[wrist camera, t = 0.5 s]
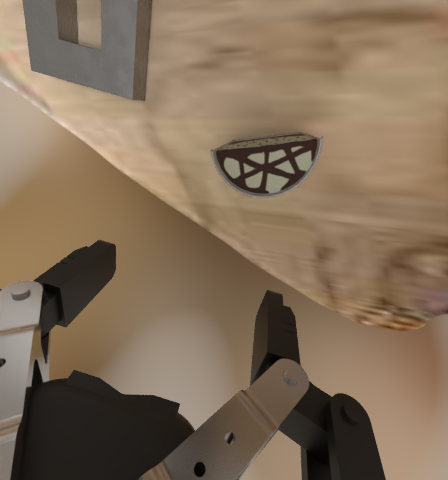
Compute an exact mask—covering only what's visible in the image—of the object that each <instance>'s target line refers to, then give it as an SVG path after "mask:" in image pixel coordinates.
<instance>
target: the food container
mask: <svg viewBox="0 0 448 480" xmlns="http://www.w3.org/2000/svg"><path fill="white" fill-rule="evenodd" d="M322 142H323V137H321V138H317V137H314V136H311V135H308V134H305V133H301V132H299V133H291V134H283V135H274V136H266V137H258V138H250V139H242V140H234V141H231V142H229V143H227V144H225V145H223V146H222V147H220V148H218V149H216V150H214V151H213V150H211V154H212V159H213V162H214V164H215V167H216V169H217V171H218V172H219V174H220V176H221V177H222V178H223V179H224V181H225V182H226V183H227V184H228V185H229V186H231V187H232V188H233V189H235V190H236V191H238V192H240V193H242V194H245V195H248V196H251V197H257V198H269V197H275V196H279V195H282V194H284V193H287V192H289V191H291V190H292V189H294V188H295V187H297V186H298V185H299V184H300V183H302V182H303V181H304V180H305V179H306V177H307V176H308V175H309V174H310V173H311V171H312V169H313V168H314V166H315V164H316V162H317V160H318V158H319V155H320V151H321V148H322Z"/></svg>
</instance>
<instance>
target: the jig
mask: <svg viewBox="0 0 448 480" xmlns="http://www.w3.org/2000/svg"><path fill="white" fill-rule="evenodd" d="M151 5H152V0H101V19H102V51H98V50H95V49H91V48H88V47H84V46H81V45H78V32H77V9H76V0H23V8H24V16H25V24H26V32H27V40H28V48H29V56H30V64H31V70H32V71H35V72H39V73H42V74H45V75H49V76H52V77H56V78H59V79H63V80H66V81H70V82H73V83H77V84H80V85H84V86H87V87H91V88H94V89H97V90H101V91H104V92H108V93H111V94H115V95H118V96H122V97H125V98H129V99H132V100H145V89H146V75H147V61H148V47H149V33H150V19H151Z"/></svg>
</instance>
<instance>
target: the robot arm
mask: <svg viewBox="0 0 448 480" xmlns="http://www.w3.org/2000/svg"><path fill="white" fill-rule="evenodd" d="M115 270H116V246H115V244H112V243H109V242H105V241H102V240H98V241H97V242H95V243H94V244H93V245H91V246H90V247H87V246H86V247H83V248H80V249H77V250H75V251H74V252H72V253H71V254H69V255H68V256H67V257H66V258H64V259H63V260H61V261H60V263H57V264H56V265H54V266H53V267H51V268H50V269H49V270H48V271H46V272H45V273H43V274H42V275H40V276H39V277H38V278H37V279H35V280H34V281H19V282H15V283H13V284H10V285H8V286H6V287H5V288H3V289H0V480H239V479H240V478H241V477H242V475H243V474H244V473H245V472H246V470H247V469H248V468H249V466H250V465H251V464H252V462H253V461H254V460H255V459H256V457H257V456H258V455H259V454H260V452H261V451H262V450H263V448H264V447H265V446H266V445H267V443H268V442H269V441H270V440H271V438H272V437H273V436H274V435H275V433H276V432H277V431H278V430H280V431H281V432H282V433H284V434H285V435H287V436H288V437H289V438H291V439H292V440H293V441H295V442H296V443H297V444H299V445H300V446H301V467H302V480H386V479H385V475H384V471H383V468H382V464H381V460H380V456H379V452H378V448H377V445H376V441H375V437H374V433H373V429H372V425H371V422H370V419H369V416H368V414H367V412H366V411H365V410H364V408H363V407H362V406H361V405H360V403H359V402H357V401H356V400H355V399H354V398H352V397H351V396H349V395H346V394H342V393H339V394H335V395H334V396H333V397H331V396H330V395H328V394H327V393H325V392H323V391H322V390H320V389H319V388H317V387H316V386H314V385H313V384H312V383H311V382H310V381H309V379H308V376H307V374H306V372H305V371H304V369H303V368H302V367H301V365H300V357H299V348H298V339H297V329H296V320H295V316H294V314H293V312H292V310H291V308H290V307H287V306H283V296H282V294H279V293H276V292H273V291H269V290H267V291H266V293H265V296H264V298H263V300H262V303H261V305H260V308H259V310H258V313H257V316H256V321H255V330H254V343H253V356H252V368H251V381H250V387H249V388H248V389H246V390H245V391H243V390H241V391H239V392H238V393H237V394H235V395H234V396H233V397H232V398H231V399H230V400H229V401H228V402H227V403H226V404H224V405H223V406H222V407H221V408H220V409H219V410H218V411H217V412H216V413H215V414H213V415H212V416H211V417H210V418H209V419H208V420H207V421H206V422H205V423H204V424H202V425H201V426H200V427H199V428H198V429H197V430H196V431H195V430H194V428H193V427H192V425H191V424H190V423H189V422H188V420H186V419H185V418H184V417H183V416H182V415H181V414H179V413H178V409H179V405H180V404H179V403H176V402H173V401H170V400H167V399H163V398H161V397H157V396H154V395H125V394H122V393H120V392H118V391H117V390H116V389H114V388H113V387H111V386H110V385H109V384H107V383H106V382H104V381H103V380H102V379H100V378H98V377H95V376H92V375H88V374H85V373H82V372H79V371H75V370H74V371H73V372H72V374H71V375H70V376H69V378H66V379H65V378H64V379H56V380H50V381H49V360H50V346H51V329H52V328H53V327H54V326H55V325H60V326H63V327H67V326H68V325H69V324H70V323H71V322H72V321H73V319H74V318H75V317H76V316H77V315H78V314H79V313H80V312H81V311H82V310H83V309H84V308H85V307H86V306H87V305H88V303H89V302H90V301H91V300H92V299H93V298H94V297H95V296H96V295H97V294H98V293H99V292H100V291H101V289H103V287H104V286H105V285H106V284H107V283H108V282H109V281H110V280H111V279H112V277H113V275H114V273H115Z"/></svg>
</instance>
